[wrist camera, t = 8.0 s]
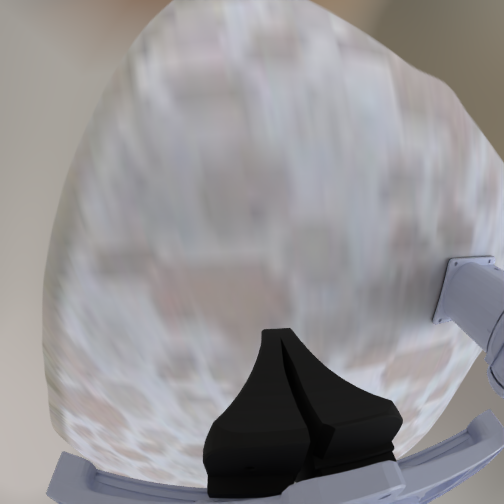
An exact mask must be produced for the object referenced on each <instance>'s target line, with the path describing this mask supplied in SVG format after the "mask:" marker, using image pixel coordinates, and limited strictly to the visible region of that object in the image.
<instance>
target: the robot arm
mask: <svg viewBox="0 0 504 504" xmlns="http://www.w3.org/2000/svg"><path fill="white" fill-rule="evenodd" d="M455 262H456V263H455ZM494 264H495V257H493V256H487V257H470V258H452V259H451V260H450V261H449V263H448V268H447V272H446V276H445V280H444V284H443V288H442V291H441V295H440V299H439V302H438V305H437V309H436V312H435V315H434V318H433V323H434V324H440V323H444V322H449V321H454V322H455V323H456V324H457V325H458V326H459V327H460V328H461V329H462V330H463V331H464V332H465V333H466V334H467V335H468V336H469V337H471V338H472V339H473V340H474V341H475V342H476V343H477V344H478V345H479V346H480V347H481V348H482V349H483V350H484V351H485V352H486V353H487V355H486V357H485V359H484V360H485V361H486V362H487V363H488V364H489V367H488V369H487V376H488V380H489V383H490V385H491V387H492V389H493V390H494V391H495V392H496V393H497V394H498V395H499V396H500V397H502V398H503V399H504V271H503V270H501V269H500V268H498V267H496V266H495V265H494ZM402 423H403V419H402V417H401V415H400V413H399V411H398V409H397V408H396V406H395V405H394V403H393V402H392V401H391V400H388V399H385V398H382V397H379V396H376V395H373V394H371V393H369V392H366V391H364V390H362V389H360V388H358V387H356V386H354V385H352V384H351V383H349V382H347V381H345V380H344V379H342V378H341V377H339V376H338V375H336V374H335V373H334V372H332V371H331V370H330V369H328V368H327V367H326V366H325V365H324V364H323V363H321V362H320V361H319V360H318V359H317V358H316V357H315V356H314V355H313V354H312V353H311V352H310V351H309V350H308V349H307V348H306V346H305V345H304V344H303V343H302V342H301V341H300V339H299V338H298V337H297V336H296V334H295V333H294V332H293V331H292V329H290V328H282V329H264V330H263V331H262V336H261V347H260V350H259V354H258V357H257V360H256V362H255V365H254V367H253V370H252V372H251V374H250V376H249V378H248V380H247V382H246V383H245V385H244V387H243V388H242V390H241V391H240V393H239V394H238V396H237V397H236V398H235V400H234V401H233V402H232V403H231V405H230V406H229V407H228V408H227V409H226V410H225V412H224V413H223V414H222V415H221V416H219V417H218V418H217V419H216V420H215V421H214V422H213V424H212V426H211V428H210V431H209V433H208V435H207V438H206V441H205V444H204V449H203V464H204V466H205V469H206V472H207V474H208V485H207V488H195V487H184V486H175V485H167V484H160V483H154V482H148V481H143V480H138V479H133V478H129V477H124V476H120V475H116V474H112V473H109V472H105V471H102V470H98V469H96V467H95V466H94V465H93V464H92V463H91V462H90V461H88V460H86V459H84V458H82V457H79V456H76V455H73V454H70V453H67V452H65V451H64V452H62V454H61V456H60V458H59V461H58V463H57V466H56V468H55V471H54V473H53V476H52V479H51V481H50V484H49V487H48V490H47V492H46V494H47V496H49V497H50V498H51V499H53V500H54V501H56V502H57V503H59V504H427V503H429V502H431V501H433V500H434V499H436V498H438V497H440V496H441V495H443V494H445V493H446V492H448V491H450V490H451V489H453V488H454V487H456V486H458V485H459V484H461V483H462V482H464V481H465V480H467V479H468V478H469V477H471V476H472V475H474V474H475V473H477V472H478V471H480V470H481V469H482V468H484V467H485V466H486V465H487V464H488V463H489V462H490V461H491V460H492V459H493V458H494V457H495V456H496V455H497V454H498V453H499V452H500V451H501V450H502V449H503V448H504V427H503V426H502V424H501V423H500V422H499V420H498V419H497V418H496V416H495V415H494V414H493V412H492V411H491V409H488V410H486V411H485V412H483V413H482V414H480V415H478V416H477V417H475V418H474V419H473V420H472V422H470V424H469V425H468V427H467V429H465V430H463V431H461V432H459V433H458V434H456V435H454V436H452V437H450V438H448V439H446V440H444V441H442V442H440V443H438V444H436V445H434V446H431V447H429V448H427V449H425V450H423V451H420V452H418V453H415V454H413V455H410V456H408V457H405V458H403V459H400V460H397V461H396V459H395V457H394V454H393V452H392V451H393V450H394V445H393V443H392V440H393V439H394V437H395V436H396V434H397V433H398V431H399V429H400V427H401V425H402ZM294 483H295V484H294Z"/></svg>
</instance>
